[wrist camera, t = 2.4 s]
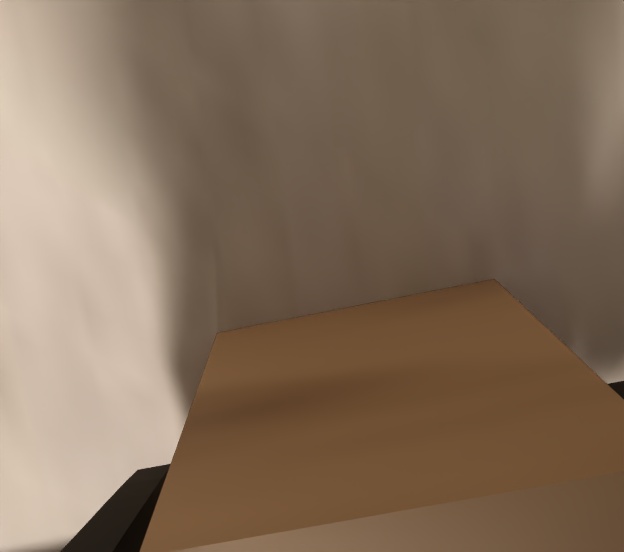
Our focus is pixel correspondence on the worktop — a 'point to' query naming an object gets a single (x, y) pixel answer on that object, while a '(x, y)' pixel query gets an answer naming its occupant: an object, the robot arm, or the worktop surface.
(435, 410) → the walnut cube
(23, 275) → the worktop surface
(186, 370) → the worktop surface
